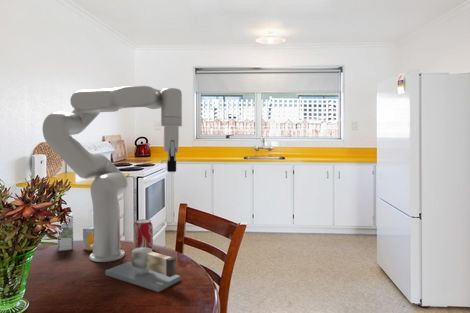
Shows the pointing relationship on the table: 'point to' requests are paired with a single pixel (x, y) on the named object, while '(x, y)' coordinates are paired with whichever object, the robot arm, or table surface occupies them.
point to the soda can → (143, 234)
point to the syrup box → (66, 236)
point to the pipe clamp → (92, 241)
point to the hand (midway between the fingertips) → (171, 171)
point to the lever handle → (154, 261)
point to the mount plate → (142, 276)
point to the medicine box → (86, 231)
